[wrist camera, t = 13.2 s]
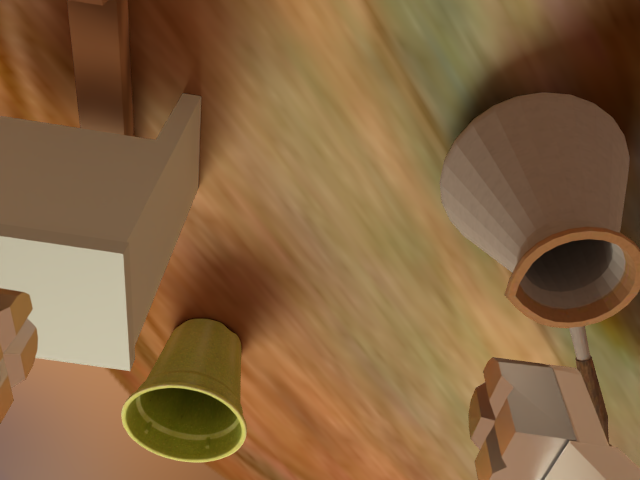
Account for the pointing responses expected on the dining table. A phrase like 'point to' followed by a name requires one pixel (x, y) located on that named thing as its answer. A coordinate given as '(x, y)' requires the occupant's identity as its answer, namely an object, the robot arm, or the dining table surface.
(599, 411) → the coffee pot
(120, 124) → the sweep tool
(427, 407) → the dining table surface
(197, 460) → the plant pot
